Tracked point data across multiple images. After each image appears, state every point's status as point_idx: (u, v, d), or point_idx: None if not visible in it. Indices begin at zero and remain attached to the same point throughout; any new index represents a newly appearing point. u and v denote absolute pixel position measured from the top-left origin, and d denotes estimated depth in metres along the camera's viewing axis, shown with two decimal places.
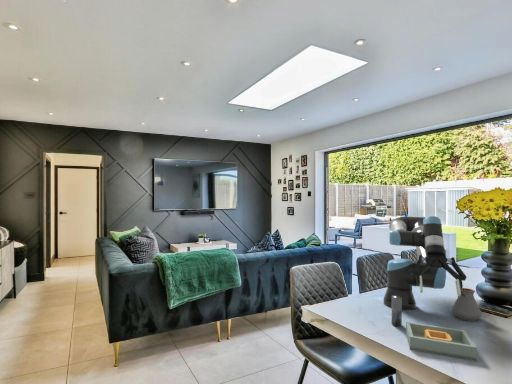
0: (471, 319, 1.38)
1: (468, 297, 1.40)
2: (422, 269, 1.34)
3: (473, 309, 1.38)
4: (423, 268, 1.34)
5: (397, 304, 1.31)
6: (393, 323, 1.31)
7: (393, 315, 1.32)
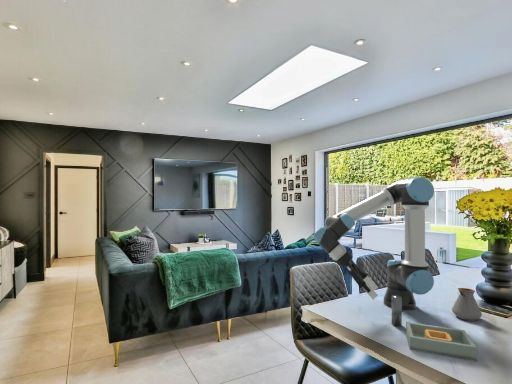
0: (471, 319, 1.38)
1: (468, 297, 1.40)
2: None
3: (473, 309, 1.38)
4: None
5: (397, 304, 1.31)
6: (393, 323, 1.31)
7: (393, 315, 1.32)
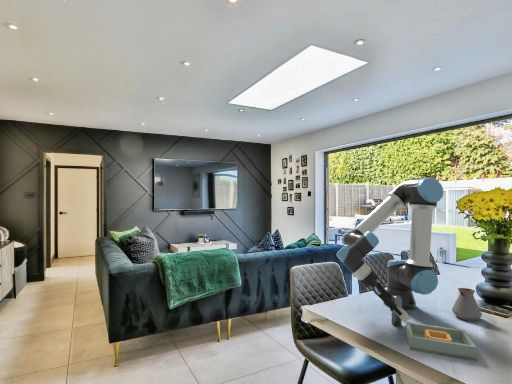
0: (471, 319, 1.38)
1: (468, 297, 1.40)
2: None
3: (473, 309, 1.38)
4: None
5: (397, 304, 1.31)
6: (393, 323, 1.31)
7: (393, 315, 1.32)
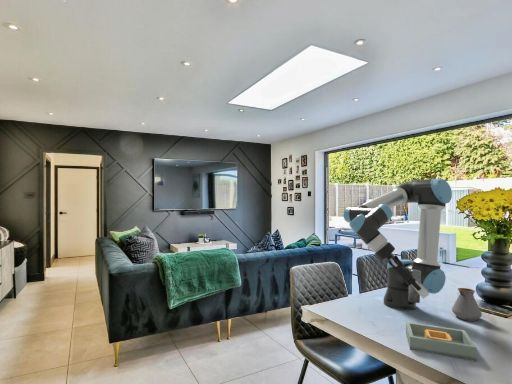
0: (471, 319, 1.38)
1: (468, 297, 1.40)
2: None
3: (473, 309, 1.38)
4: None
5: (415, 279, 1.19)
6: (410, 299, 1.20)
7: (410, 291, 1.20)
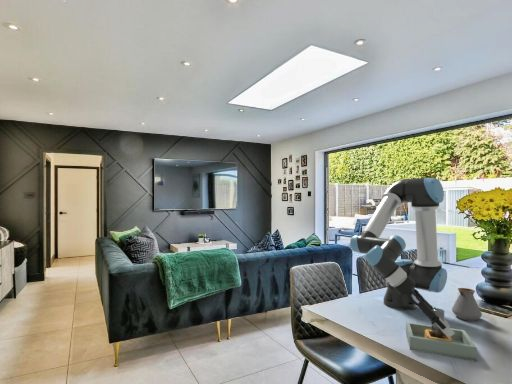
0: (471, 319, 1.38)
1: (468, 297, 1.40)
2: None
3: (473, 309, 1.38)
4: None
5: None
6: None
7: (433, 332, 1.13)
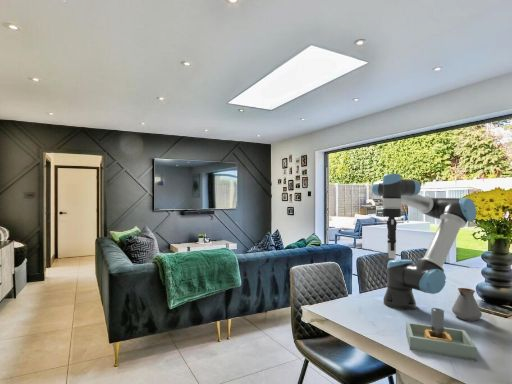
0: (471, 319, 1.38)
1: (468, 297, 1.40)
2: (388, 233, 1.44)
3: (473, 309, 1.38)
4: (388, 232, 1.43)
5: (439, 319, 1.12)
6: None
7: (433, 332, 1.13)
